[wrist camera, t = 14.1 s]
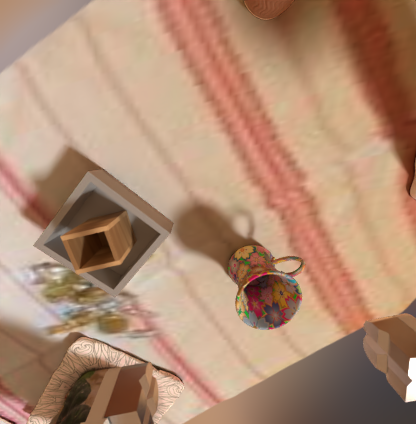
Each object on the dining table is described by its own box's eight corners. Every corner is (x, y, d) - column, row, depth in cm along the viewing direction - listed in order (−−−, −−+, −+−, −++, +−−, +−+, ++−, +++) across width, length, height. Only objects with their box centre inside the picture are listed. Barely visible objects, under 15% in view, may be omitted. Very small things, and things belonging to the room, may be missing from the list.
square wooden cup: (126, 210, 35) (107, 225, 27) (136, 240, 36) (121, 264, 28) (90, 218, 35) (60, 236, 27) (101, 249, 36) (76, 274, 28)
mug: (245, 295, 41) (262, 341, 31) (214, 262, 39) (221, 300, 29) (296, 257, 40) (331, 292, 30) (267, 221, 38) (294, 245, 28)
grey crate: (173, 223, 37) (170, 233, 32) (124, 279, 39) (115, 297, 34) (103, 168, 34) (87, 171, 29) (54, 233, 36) (33, 245, 31)
